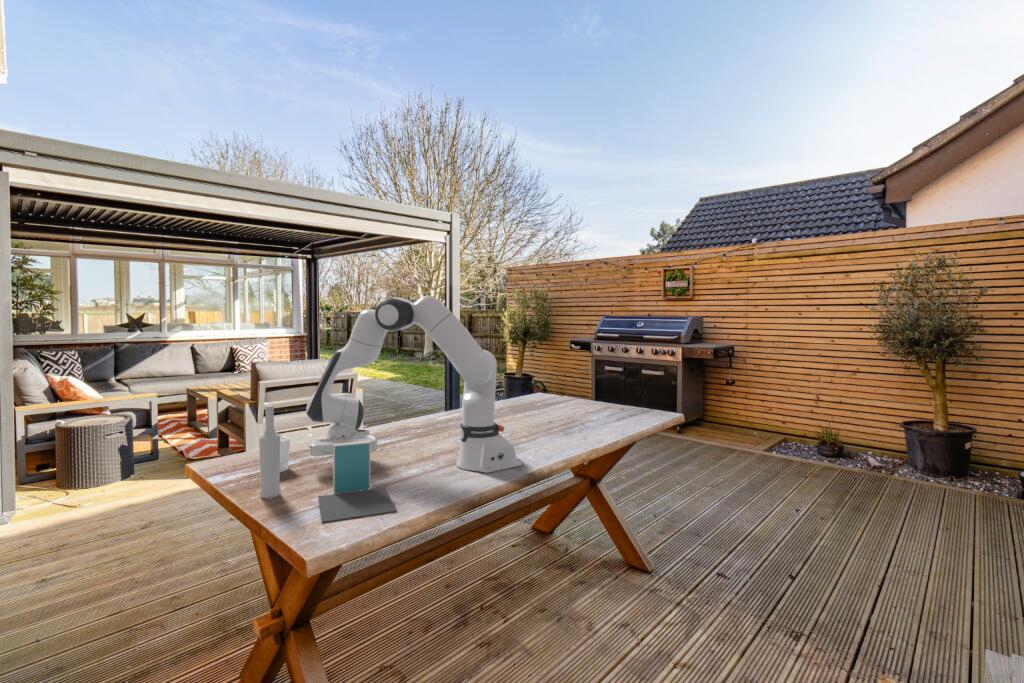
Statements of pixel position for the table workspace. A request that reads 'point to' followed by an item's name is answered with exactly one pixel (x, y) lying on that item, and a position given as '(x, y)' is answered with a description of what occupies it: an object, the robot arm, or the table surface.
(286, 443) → the white cup
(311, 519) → the table surface
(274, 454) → the bottle
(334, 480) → the tile
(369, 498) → the mat
